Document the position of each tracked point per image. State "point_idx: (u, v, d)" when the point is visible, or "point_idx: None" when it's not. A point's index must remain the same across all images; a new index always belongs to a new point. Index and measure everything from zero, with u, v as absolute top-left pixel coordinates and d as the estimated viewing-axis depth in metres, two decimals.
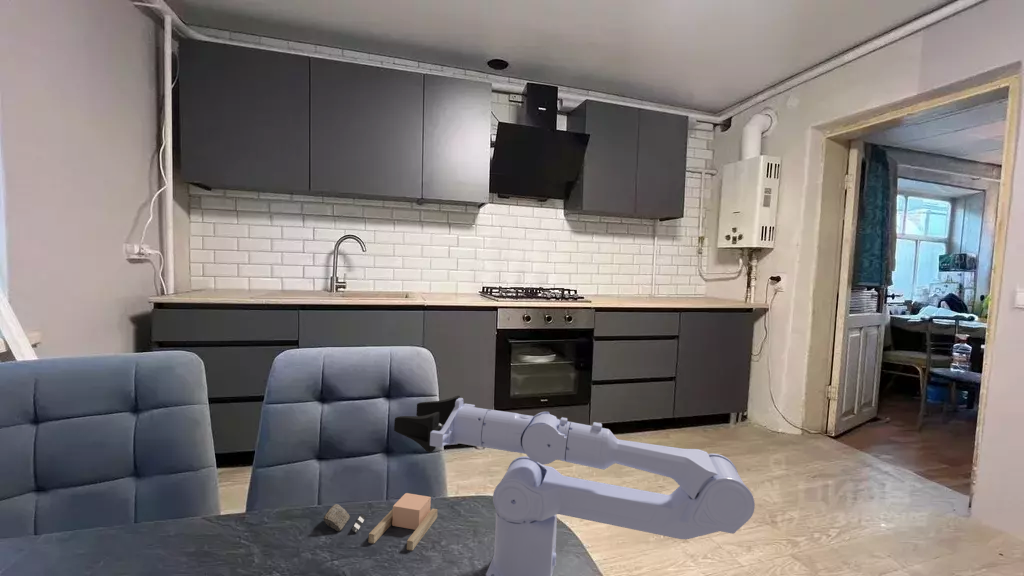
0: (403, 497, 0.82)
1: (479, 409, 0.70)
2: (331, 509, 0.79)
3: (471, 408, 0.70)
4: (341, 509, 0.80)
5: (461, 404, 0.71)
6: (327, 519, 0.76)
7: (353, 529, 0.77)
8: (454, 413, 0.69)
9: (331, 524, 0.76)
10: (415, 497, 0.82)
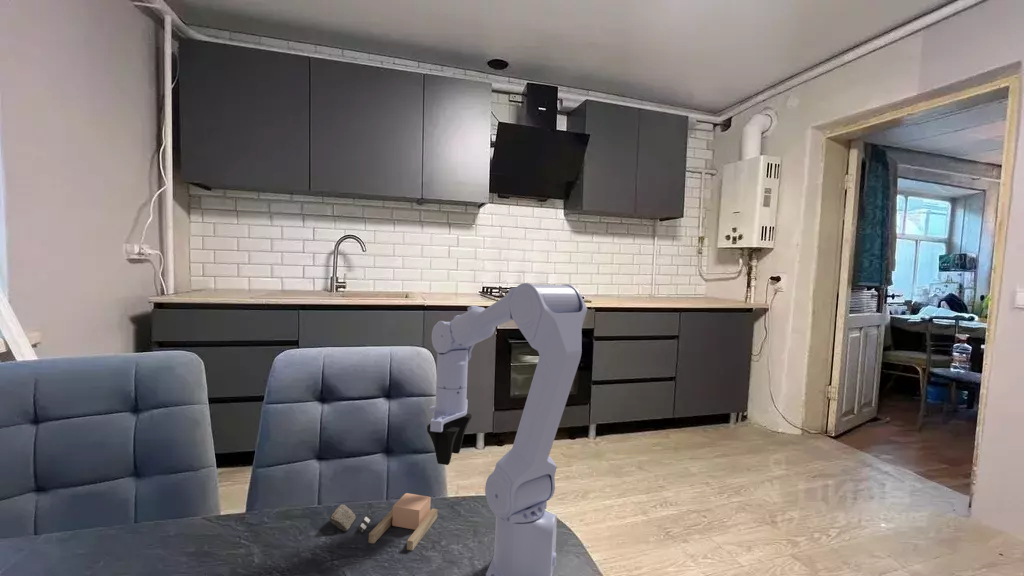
0: (403, 497, 0.82)
1: None
2: (337, 509, 0.79)
3: None
4: (347, 509, 0.80)
5: (435, 407, 0.85)
6: (333, 519, 0.76)
7: (359, 530, 0.77)
8: (433, 412, 0.82)
9: (337, 524, 0.76)
10: (415, 497, 0.82)
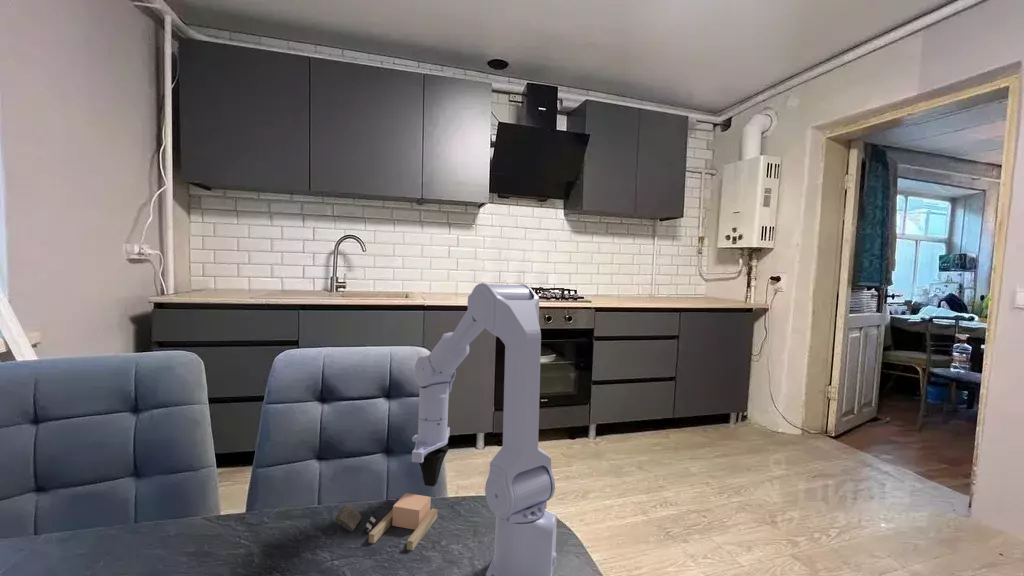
0: (403, 497, 0.82)
1: None
2: (343, 509, 0.79)
3: None
4: (353, 509, 0.80)
5: (418, 436, 0.90)
6: (339, 519, 0.77)
7: (365, 529, 0.77)
8: (416, 442, 0.87)
9: (343, 524, 0.77)
10: (415, 497, 0.82)
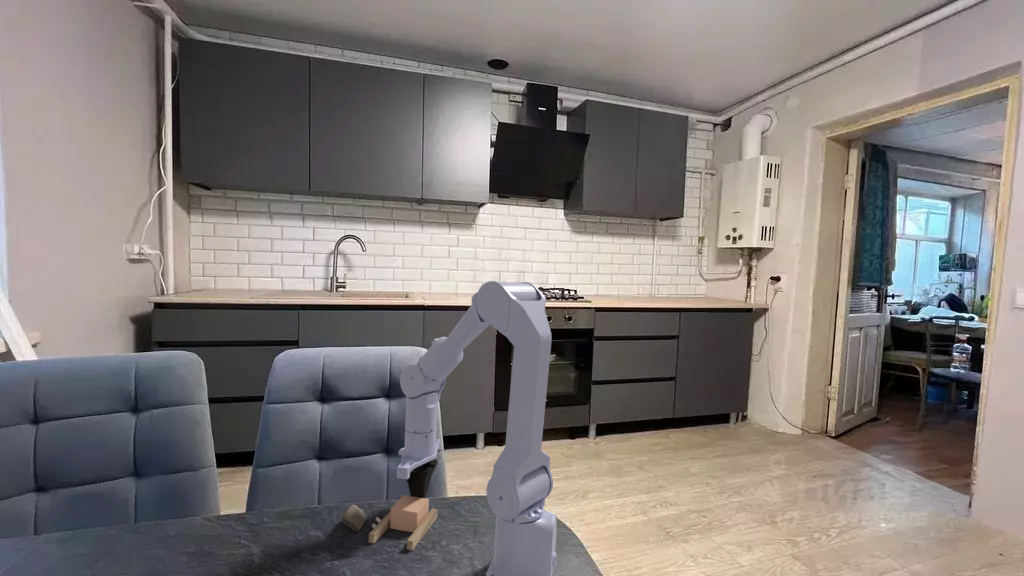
0: (401, 499, 0.81)
1: None
2: (349, 509, 0.79)
3: None
4: (358, 509, 0.80)
5: None
6: (345, 519, 0.77)
7: (371, 530, 0.77)
8: None
9: (349, 524, 0.77)
10: (413, 499, 0.81)
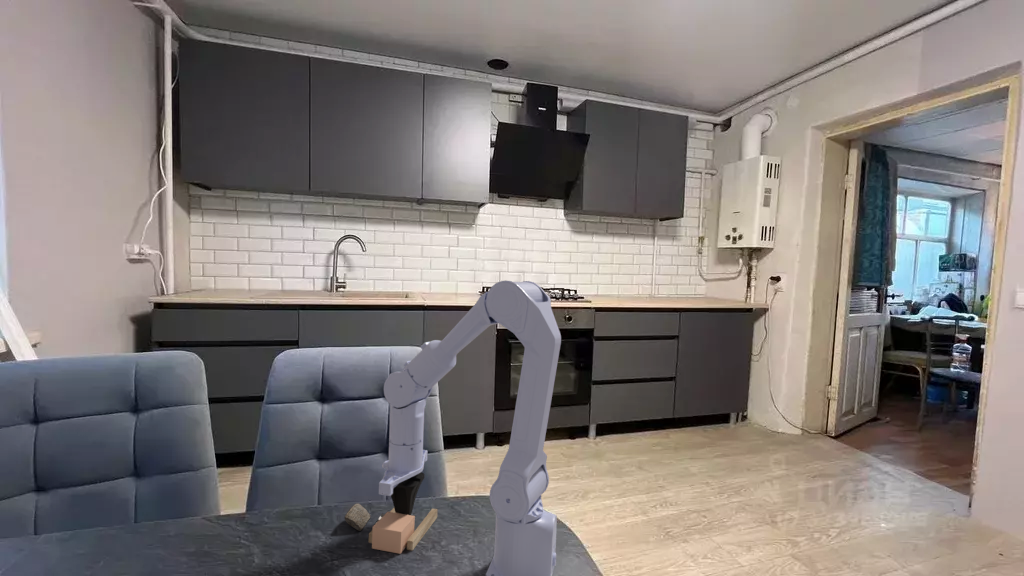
0: (385, 516, 0.75)
1: None
2: (352, 508, 0.79)
3: None
4: (362, 508, 0.81)
5: None
6: (348, 518, 0.77)
7: None
8: (386, 469, 0.76)
9: (352, 523, 0.77)
10: (398, 516, 0.76)
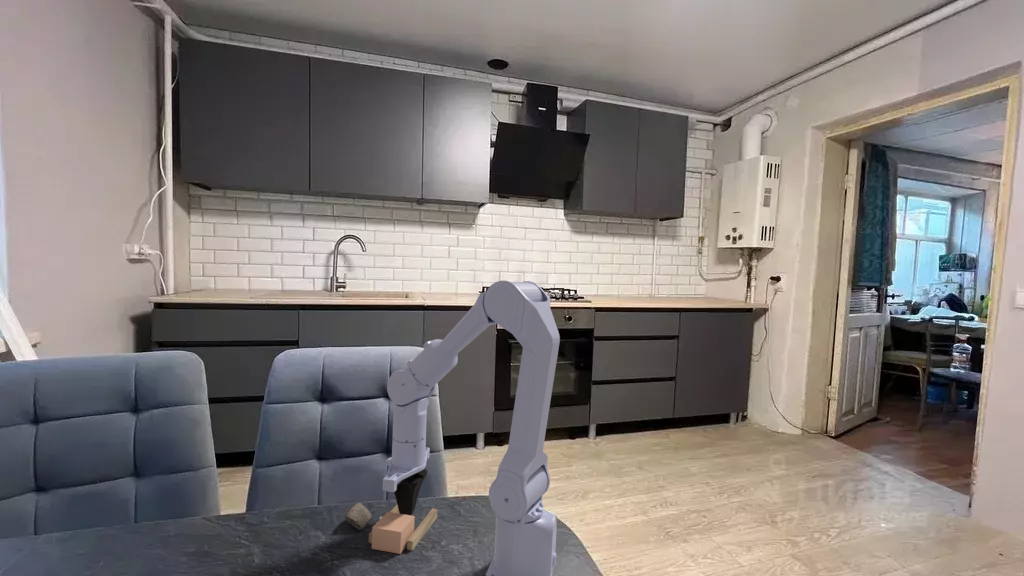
0: (384, 516, 0.75)
1: None
2: (353, 508, 0.80)
3: None
4: (363, 508, 0.81)
5: (392, 459, 0.79)
6: (349, 517, 0.77)
7: None
8: None
9: (352, 523, 0.77)
10: (398, 517, 0.76)
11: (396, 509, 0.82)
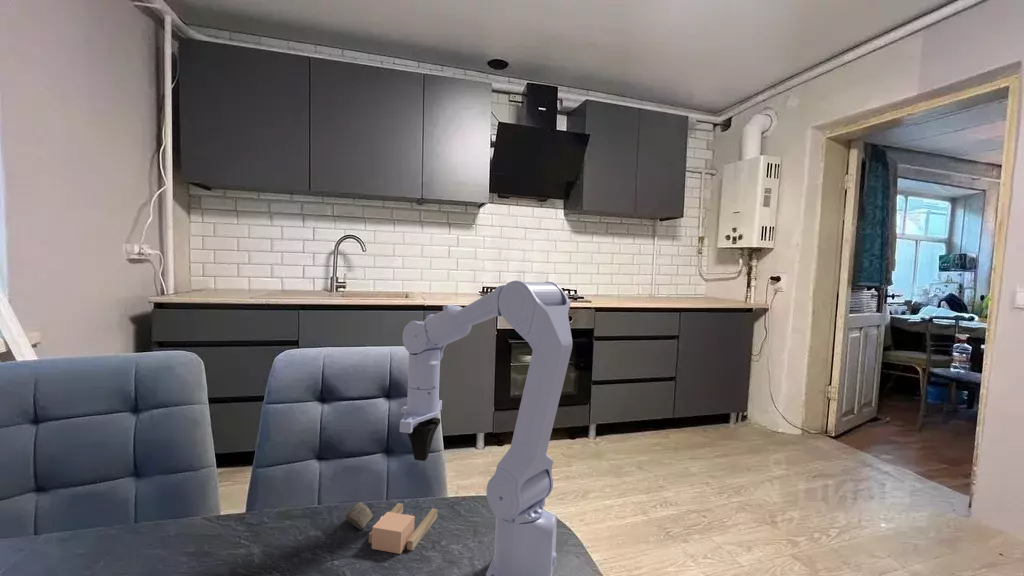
0: (384, 516, 0.75)
1: None
2: (354, 507, 0.80)
3: None
4: (364, 508, 0.81)
5: (407, 407, 0.84)
6: (349, 517, 0.77)
7: None
8: (405, 412, 0.81)
9: (353, 522, 0.77)
10: (398, 517, 0.76)
11: (396, 509, 0.82)
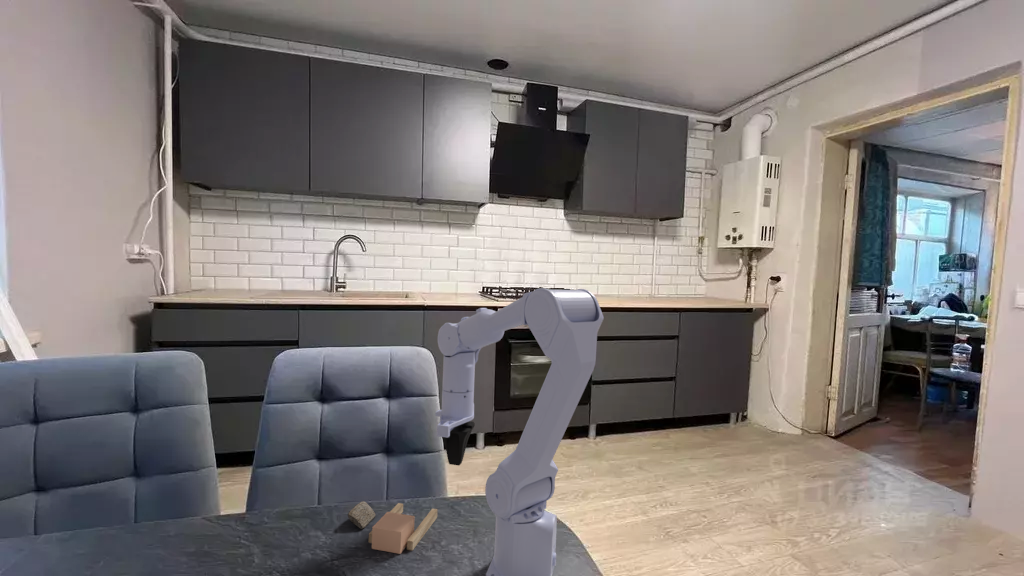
0: (384, 516, 0.75)
1: None
2: (357, 506, 0.80)
3: None
4: (367, 507, 0.81)
5: (441, 411, 0.82)
6: (351, 515, 0.78)
7: None
8: (440, 416, 0.80)
9: (354, 521, 0.78)
10: (398, 517, 0.76)
11: (396, 509, 0.82)
